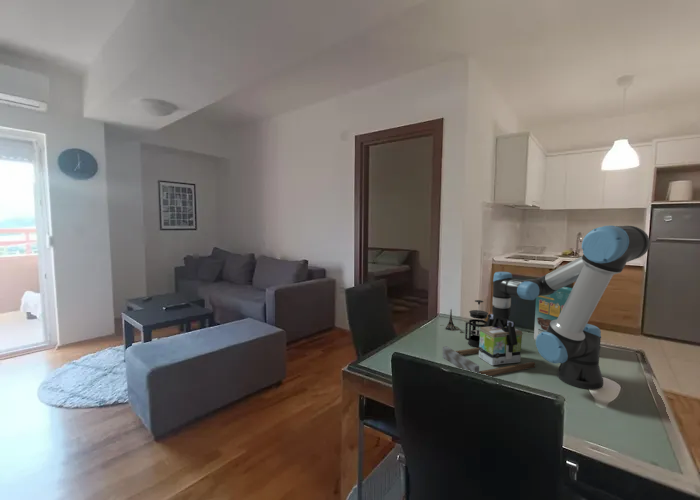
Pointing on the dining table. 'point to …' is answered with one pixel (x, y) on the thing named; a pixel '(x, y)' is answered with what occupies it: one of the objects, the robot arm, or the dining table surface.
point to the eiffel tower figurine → (451, 325)
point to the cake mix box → (549, 309)
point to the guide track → (465, 363)
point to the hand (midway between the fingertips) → (499, 354)
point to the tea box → (498, 346)
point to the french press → (475, 337)
